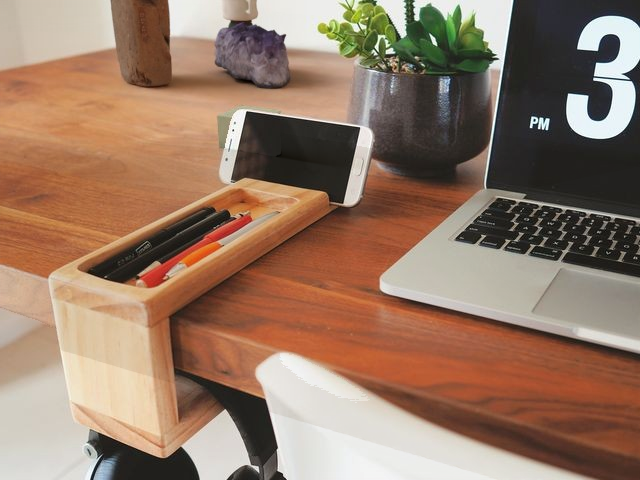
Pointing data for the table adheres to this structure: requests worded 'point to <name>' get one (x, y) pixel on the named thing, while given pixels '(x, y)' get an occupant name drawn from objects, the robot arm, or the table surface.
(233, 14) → the character mug
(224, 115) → the cube
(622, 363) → the table surface
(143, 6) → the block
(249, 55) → the geode
